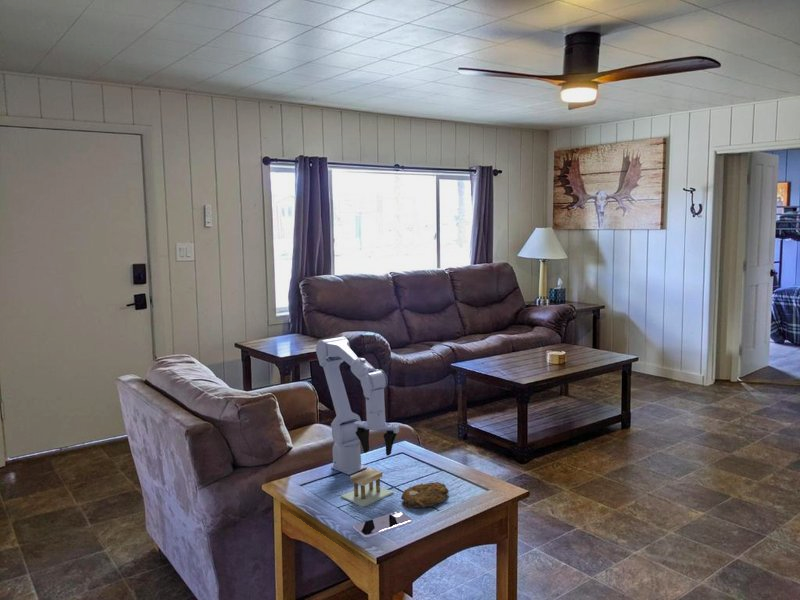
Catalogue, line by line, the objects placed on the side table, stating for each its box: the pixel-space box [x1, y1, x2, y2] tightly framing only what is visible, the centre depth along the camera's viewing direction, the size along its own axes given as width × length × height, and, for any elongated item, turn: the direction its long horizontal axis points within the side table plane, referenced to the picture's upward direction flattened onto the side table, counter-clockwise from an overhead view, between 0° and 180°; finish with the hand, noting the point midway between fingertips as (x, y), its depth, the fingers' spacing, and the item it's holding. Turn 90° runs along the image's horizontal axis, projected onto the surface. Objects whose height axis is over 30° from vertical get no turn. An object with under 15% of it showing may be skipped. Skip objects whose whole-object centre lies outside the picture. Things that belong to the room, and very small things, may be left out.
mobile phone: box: [353, 510, 413, 538], centre depth 165 cm, size 8×1×15 cm
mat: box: [340, 483, 394, 508], centre depth 184 cm, size 10×12×1 cm
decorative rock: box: [400, 481, 450, 509], centre depth 179 cm, size 11×4×15 cm
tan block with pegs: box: [350, 467, 383, 499], centre depth 184 cm, size 5×8×6 cm
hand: (377, 453), depth 191 cm, fingers open, 7 cm apart
